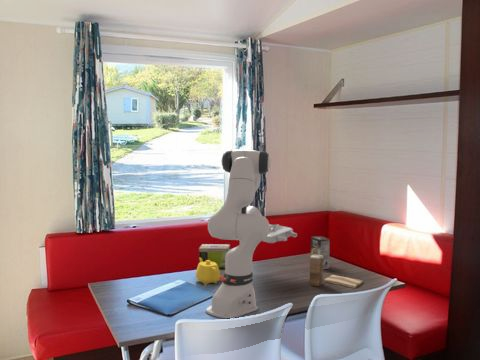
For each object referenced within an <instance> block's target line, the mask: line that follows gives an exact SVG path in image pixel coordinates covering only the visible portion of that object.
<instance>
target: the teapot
mask: <svg viewBox="0 0 480 360" xmlns="http://www.w3.org/2000/svg"><path fill="white" fill-rule="evenodd" d="M199 259H200V263H199V262H198V264H197V267H196V270H195V278H196V280H197V281H198V282H199V283H203V284H204V286H207V285H209V284H210V283H211V284H212V283H213V284H218V282H219V276H220V270H219V267H218V265H217V264H216V263H215V262H212V261H210V260H206V262H203V260H202V258H201V257H199V256H198V260H199Z"/></svg>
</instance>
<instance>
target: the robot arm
mask: <svg viewBox="0 0 480 360" xmlns="http://www.w3.org/2000/svg"><path fill="white" fill-rule="evenodd" d="M221 166H222V169H223V170H224V171H225V172H226V173H229V178H228V179H229V180H228V188H227V195H226V199H225V201H224V204H223V205H222V206H221V208H220V209H219V210H218V211H217V212H215V213H214V214H212V215H211V216H210V218H209V220H208V222H207V231H208V233H209V234H210V236H211V237H212V238H215V239H219V240H230V241H239V245H237V246H235V247H233V248H230V250H229V251H228V252H227V253H226V256H225V273H224V276H219V281H221V282H222V283H221V284H220V286H219V287H218V289H217V290H216V292H215V293H214V294H213V295H212V298H211V304H210V305H209V306H208V307H206V308H205V312H206V313H207V314H209V315H211V316H214V317H217V318H220V319H227V318H233V319H235V317H236V318H238V317H241V316H243V315H246V314H249V313H252V312H254V311H257V310H258V306H257V304H256V295H255V294H256V292H255V288H254V285H253V281H254V280H253V279H254V275H253V271H252V270H253V268H252V267H253V255H254V252H255V251H256V248H257V246H258V245H259V244H260V243H261V242H265V243H268V244H274V243H276V242H286V241H288V238H289V237H292V238H296V237H298V233H297V232H294V229H293V228H292V227H288V226H284V225H280V224H277V223H275V224H270V222H269V220H268V218H267V217H266V216H264V215H263V213H262V211H261V210H260V208H259V207H257V206H255V205H250V204H251V203H252V202H253V201H254V199H255V194H256V192H257V191H258V189H259V188H260V185H261V181H262V180H261V179H262V177H261V175H264V174H267V173H268V172H269V169H270V168H271V158H270V155H269V153H268V152H267V151H264V150H254V149H253V150H251V149H227V150H225V151H224V152H223V153H222V156H221ZM219 281H218V282H219Z"/></svg>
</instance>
